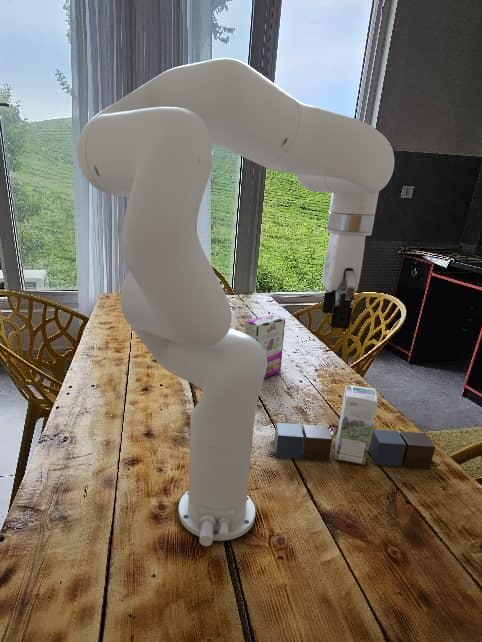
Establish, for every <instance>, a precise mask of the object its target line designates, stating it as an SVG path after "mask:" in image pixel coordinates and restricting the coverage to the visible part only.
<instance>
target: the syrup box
mask: <svg viewBox="0 0 482 642" xmlns="http://www.w3.org/2000/svg"><path fill="white" fill-rule="evenodd" d="M378 405H379V401H378V395H377V390H376V388H372V387H367V386H366V387H365V386H359V385H352V384H351V385H350V384H345V387H344V393H343V398H342V403H341V410H340V415H339V421H338V426H337V432H336V437H335V443H334V449H335V453H334V454H335V455H334V456H335V460H336V461H342V462H347V463H352V464H357V465H362V466H363V465H365V464H366V460H367V456H368V452H369V450H368V449H369V445H370V440H371V435H372V430H373V427H374V424H375V418H376V414H377V411H378Z"/></svg>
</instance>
